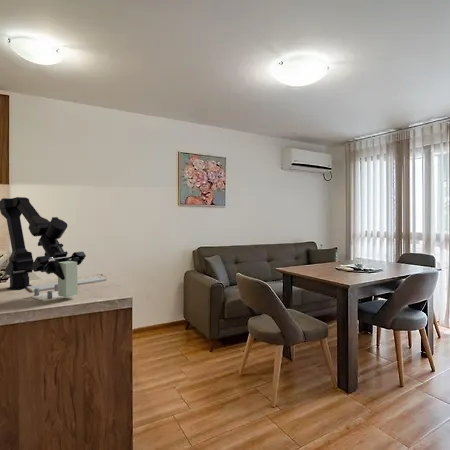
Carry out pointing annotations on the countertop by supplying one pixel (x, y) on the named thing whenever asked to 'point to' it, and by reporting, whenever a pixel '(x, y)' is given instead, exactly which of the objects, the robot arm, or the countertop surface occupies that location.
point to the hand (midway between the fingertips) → (70, 278)
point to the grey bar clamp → (52, 285)
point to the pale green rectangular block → (68, 279)
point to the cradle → (46, 294)
